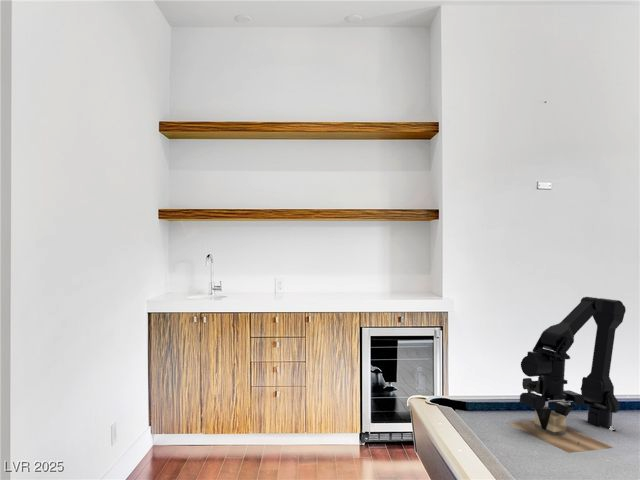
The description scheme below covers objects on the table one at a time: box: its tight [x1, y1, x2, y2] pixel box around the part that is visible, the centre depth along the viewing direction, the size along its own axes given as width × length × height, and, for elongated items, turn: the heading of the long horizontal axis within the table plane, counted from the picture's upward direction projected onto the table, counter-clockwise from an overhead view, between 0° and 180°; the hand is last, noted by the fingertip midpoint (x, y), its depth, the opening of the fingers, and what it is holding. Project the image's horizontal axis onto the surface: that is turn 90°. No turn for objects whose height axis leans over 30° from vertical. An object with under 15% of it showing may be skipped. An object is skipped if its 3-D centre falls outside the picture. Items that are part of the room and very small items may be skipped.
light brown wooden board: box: [508, 420, 614, 454], centre depth 143 cm, size 16×22×1 cm
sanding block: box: [534, 409, 567, 436], centre depth 146 cm, size 4×7×5 cm, turn 21°
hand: (550, 428), depth 146 cm, fingers closed on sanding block, 4 cm apart
